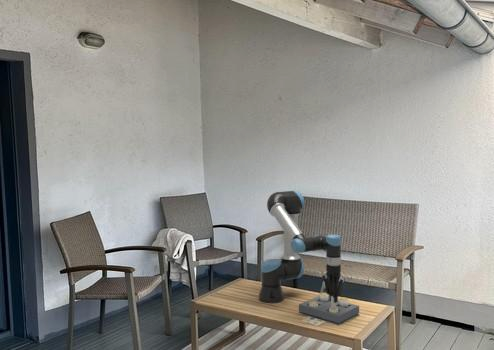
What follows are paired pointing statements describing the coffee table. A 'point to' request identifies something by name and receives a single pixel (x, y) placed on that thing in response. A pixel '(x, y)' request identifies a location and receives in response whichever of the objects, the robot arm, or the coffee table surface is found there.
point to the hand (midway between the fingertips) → (333, 307)
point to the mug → (323, 290)
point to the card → (314, 321)
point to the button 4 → (343, 302)
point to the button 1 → (313, 304)
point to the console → (323, 311)
